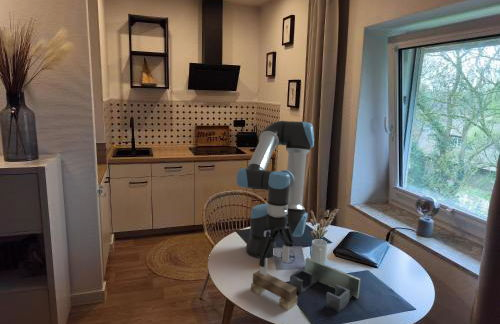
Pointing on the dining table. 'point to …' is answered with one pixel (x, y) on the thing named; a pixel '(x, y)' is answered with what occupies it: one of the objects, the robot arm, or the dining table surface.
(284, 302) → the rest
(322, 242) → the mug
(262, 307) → the dining table surface
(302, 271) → the bracket
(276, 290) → the rail
